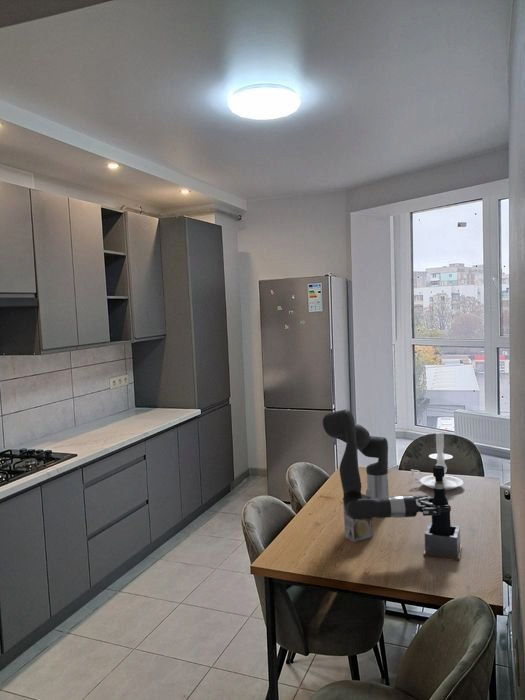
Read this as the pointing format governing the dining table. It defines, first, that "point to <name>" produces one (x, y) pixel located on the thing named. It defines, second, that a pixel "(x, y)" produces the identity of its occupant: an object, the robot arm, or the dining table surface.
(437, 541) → the bottle sleeve
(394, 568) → the dining table surface
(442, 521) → the wine bottle
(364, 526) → the coffee box
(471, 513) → the dining table surface
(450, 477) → the candlestick
